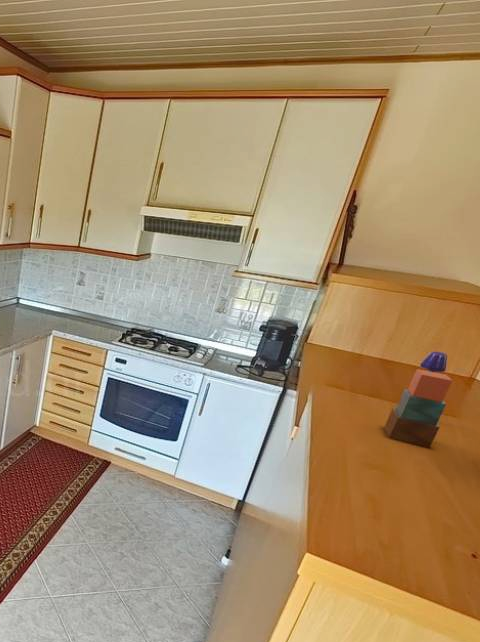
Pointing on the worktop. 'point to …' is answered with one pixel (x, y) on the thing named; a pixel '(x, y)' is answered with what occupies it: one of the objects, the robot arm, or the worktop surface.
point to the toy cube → (429, 385)
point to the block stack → (414, 420)
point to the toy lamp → (435, 362)
